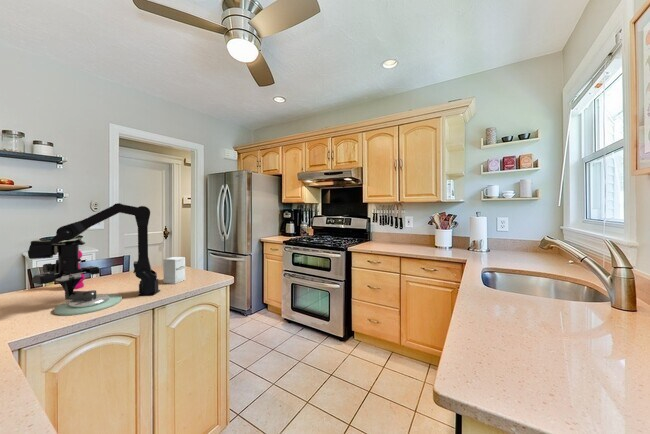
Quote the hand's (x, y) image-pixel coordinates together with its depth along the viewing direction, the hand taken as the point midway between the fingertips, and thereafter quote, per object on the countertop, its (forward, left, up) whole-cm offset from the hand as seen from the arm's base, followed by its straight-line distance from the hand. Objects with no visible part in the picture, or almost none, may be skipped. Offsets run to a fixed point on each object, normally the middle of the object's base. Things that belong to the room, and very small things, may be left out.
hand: (68, 296), depth 102 cm
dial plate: (-7, -1, -4) cm, 8 cm away
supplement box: (-26, -31, -4) cm, 40 cm away
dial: (-5, -1, -3) cm, 6 cm away
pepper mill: (+17, -25, -4) cm, 30 cm away
